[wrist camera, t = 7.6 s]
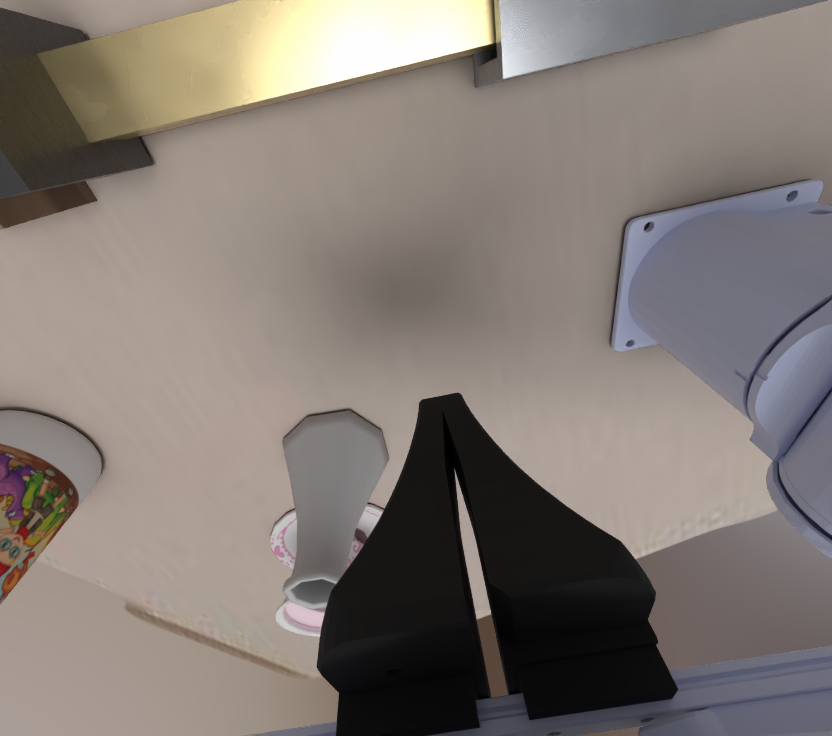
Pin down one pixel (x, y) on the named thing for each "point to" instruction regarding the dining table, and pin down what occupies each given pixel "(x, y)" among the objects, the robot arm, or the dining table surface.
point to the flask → (329, 497)
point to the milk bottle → (38, 486)
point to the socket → (43, 203)
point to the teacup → (285, 550)
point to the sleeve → (602, 29)
